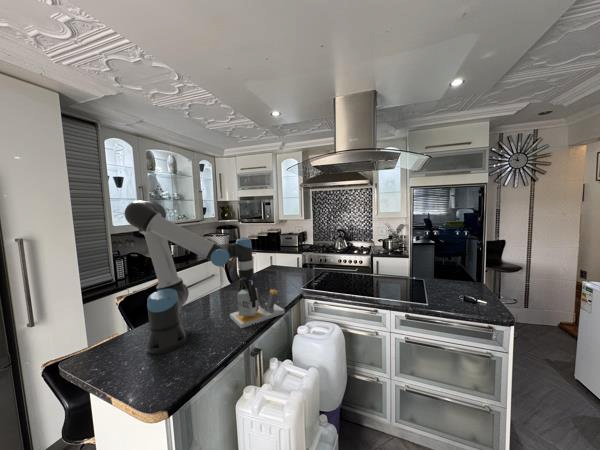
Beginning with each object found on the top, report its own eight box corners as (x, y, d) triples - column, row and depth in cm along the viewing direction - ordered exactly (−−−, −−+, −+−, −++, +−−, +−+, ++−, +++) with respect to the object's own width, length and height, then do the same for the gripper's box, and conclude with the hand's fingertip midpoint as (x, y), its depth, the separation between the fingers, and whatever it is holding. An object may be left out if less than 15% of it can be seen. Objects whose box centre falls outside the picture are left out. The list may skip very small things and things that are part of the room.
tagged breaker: (268, 311, 131) (273, 290, 132) (264, 309, 134) (270, 289, 135) (272, 311, 132) (277, 291, 134) (269, 309, 135) (274, 289, 137)
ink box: (243, 309, 133) (242, 288, 132) (259, 309, 132) (257, 287, 131) (238, 316, 124) (236, 293, 123) (254, 316, 123) (253, 293, 122)
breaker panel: (241, 328, 119) (240, 320, 119) (230, 317, 132) (229, 309, 132) (284, 313, 134) (284, 305, 133) (270, 304, 147) (270, 297, 146)
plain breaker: (262, 307, 138) (252, 293, 135) (259, 305, 142) (249, 291, 138) (265, 304, 140) (255, 290, 136) (262, 302, 143) (252, 288, 139)
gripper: (262, 271, 119) (265, 314, 120) (243, 263, 138) (246, 301, 140) (248, 274, 114) (251, 319, 116) (230, 265, 134) (233, 304, 135)
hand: (248, 309), depth 128 cm, fingers closed on ink box, 11 cm apart
